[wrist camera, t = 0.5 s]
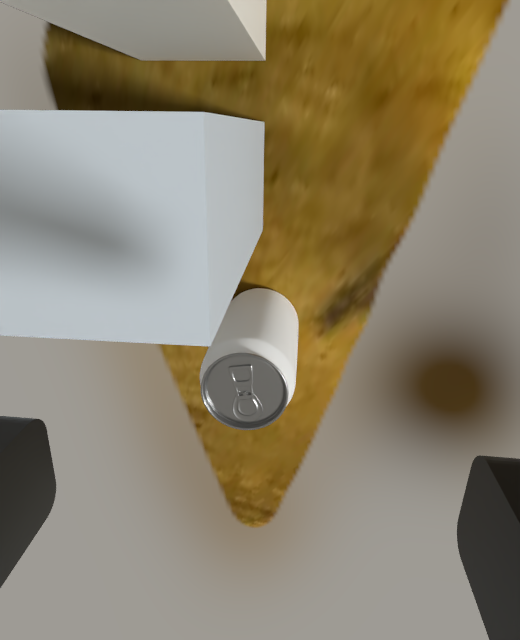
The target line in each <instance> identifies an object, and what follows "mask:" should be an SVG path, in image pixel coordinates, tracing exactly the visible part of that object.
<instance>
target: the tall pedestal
mask: <svg viewBox="0 0 520 640" xmlns="http://www.w3.org/2000/svg"><path fill="white" fill-rule="evenodd" d="M0 2H1V3H4V4H6V5H9V6H11V7H13V8H16V9H18V10H21V11H23V12H25V13H28V14H31V15H33V16H35V17H38V18H40V19H42V20H45V21H47V22H50V23H52V24H54V25H57V26H59V27H62V28H64V29H67V30H69V31H71V32H74V33H76V34H79V35H81V36H84V37H86V38H88V39H91V40H93V41H96V42H98V43H100V44H103V45H105V46H108V47H110V48H113V49H115V50H117V51H120V52H122V53H125V54H127V55H130V56H132V57H134V58H137V59H139V60H179V61H265V52H266V0H0Z"/></svg>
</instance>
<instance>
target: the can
mask: <svg viewBox="0 0 520 640" xmlns="http://www.w3.org/2000/svg"><path fill="white" fill-rule="evenodd" d="M297 350H298V317H297V314H296V311H295V309H294V307H293V305H292V304H291V303H290V301H289V300H288V299H287V298H285V297H284V296H283V295H281V294H280V293H278V292H276V291H273V290H270V289H264V288H255V289H250V290H247V291H244V292H242V293H240V294H239V295H237V296H236V297H235V298H234V299H233V300H232V301H231V302H230V304H229V306H228V309H227V311H226V313H225V315H224V317H223V320H222V322H221V324H220V326H219V329H218V331H217V333H216V335H215V338H214V340H213V342H212V344H211V346H209V348H208V350H207V353H206V355H205V357H204V360H203V362H202V366H201V370H200V384H201V396H202V400H203V402H204V405H205V407H206V408H207V410H208V411H209V412H210V414H211V415H212V416H213V417H214V418H215V419H217V420H218V421H219V422H221V423H223V424H225V425H227V426H229V427H232V428H235V429H240V430H255V429H260V428H263V427H265V426H268V425H270V424H271V423H273V422H274V421H276V420H277V419H278V418H279V417H280V416H281V414H282V413H283V411H284V410H285V408H286V406H287V405H288V403H289V402H290V400H291V398H292V396H293V393H294V389H295V383H296V369H297Z"/></svg>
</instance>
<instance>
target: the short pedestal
mask: <svg viewBox="0 0 520 640" xmlns="http://www.w3.org/2000/svg"><path fill="white" fill-rule="evenodd" d="M263 183H264V122H262V121H256V120H249V119H243V118H237V117H231V116H225V115H219V114H213V113H207V112H166V111H78V110H0V335H3V336H4V335H5V336H22V337H41V338H60V339H61V338H62V339H79V340H99V341H117V342H118V341H119V342H137V343H155V344H174V345H192V346H211V344H212V342H213V340H214V338H215V335H216V333H217V331H218V329H219V326H220V324H221V322H222V320H223V317H224V315H225V313H226V311H227V309H228V306H229V304H230V302H231V300H232V297H233V295H234V293H235V291H236V288H237V286H238V284H239V282H240V280H241V277H242V275H243V273H244V271H245V268H246V266H247V264H248V262H249V259H250V257H251V255H252V253H253V251H254V248H255V246H256V244H257V242H258V239H259V237H260V235H261V233H262V230H263Z"/></svg>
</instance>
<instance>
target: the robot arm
mask: <svg viewBox="0 0 520 640" xmlns="http://www.w3.org/2000/svg"><path fill="white" fill-rule="evenodd" d="M55 493H56V480H55V474H54V468H53V463H52V457H51V452H50V446H49V440H48V435H47V429H46V427H45V424H44V422H43V421H42V420H40V419H32V418H20V417H6V416H0V588H1V586H2V585H3V583H4V582H5V580H6V579H7V577H8V576H9V574H10V573H11V571H12V570H13V568H14V567H15V565H16V564H17V562H18V561H19V559H20V558H21V556H22V555H23V553H24V552H25V550H26V549H27V547H28V546H29V544H30V543H31V541H32V540H33V538H34V537H35V535H36V534H37V532H38V531H39V529H40V528H41V526H42V525H43V523H44V522H45V520H46V518H47V517H48V515H49V513H50V511H51V509H52V506H53V503H54V499H55ZM457 541H458V549H459V553H460V557H461V560H462V563H463V566H464V569H465V572H466V575H467V577H468V580H469V583H470V586H471V588H472V592H473V594H474V597H475V600H476V603H477V606H478V609H479V611H480V614H481V617H482V620H483V623H484V625H485V628H486V631H487V634H488V637H489V640H520V459H516V458H503V457H491V456H477V457H476V458H475V459H474V461H473V463H472V467H471V470H470V474H469V478H468V482H467V486H466V490H465V494H464V498H463V502H462V506H461V510H460V514H459V519H458V525H457Z"/></svg>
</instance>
